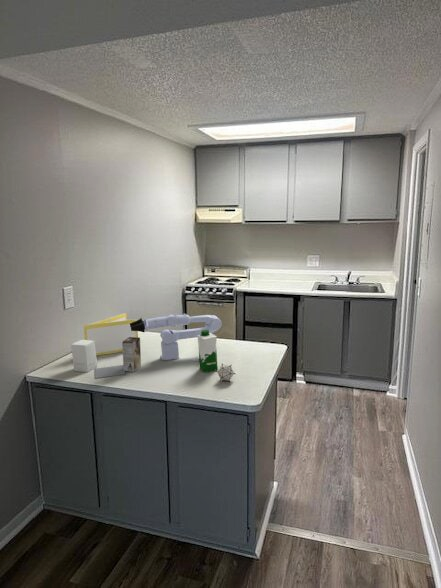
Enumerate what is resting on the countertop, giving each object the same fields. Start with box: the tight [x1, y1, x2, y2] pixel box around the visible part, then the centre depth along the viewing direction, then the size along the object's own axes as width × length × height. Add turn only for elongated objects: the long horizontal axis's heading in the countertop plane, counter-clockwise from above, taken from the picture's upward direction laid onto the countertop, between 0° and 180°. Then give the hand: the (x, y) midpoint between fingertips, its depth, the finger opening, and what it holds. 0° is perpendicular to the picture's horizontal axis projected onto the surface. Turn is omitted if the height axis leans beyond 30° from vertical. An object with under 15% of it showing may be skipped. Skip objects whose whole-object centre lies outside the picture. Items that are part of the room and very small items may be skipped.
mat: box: [94, 364, 126, 380], centre depth 219 cm, size 15×14×1 cm
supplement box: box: [70, 339, 98, 373], centre depth 224 cm, size 9×9×15 cm
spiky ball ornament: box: [215, 363, 236, 383], centre depth 200 cm, size 9×8×10 cm
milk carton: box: [196, 330, 219, 373], centre depth 215 cm, size 9×9×20 cm
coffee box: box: [122, 337, 142, 373], centre depth 220 cm, size 9×6×16 cm
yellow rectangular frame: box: [83, 312, 139, 357], centre depth 252 cm, size 35×22×20 cm, turn 151°
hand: (130, 327), depth 228 cm, fingers open, 7 cm apart
